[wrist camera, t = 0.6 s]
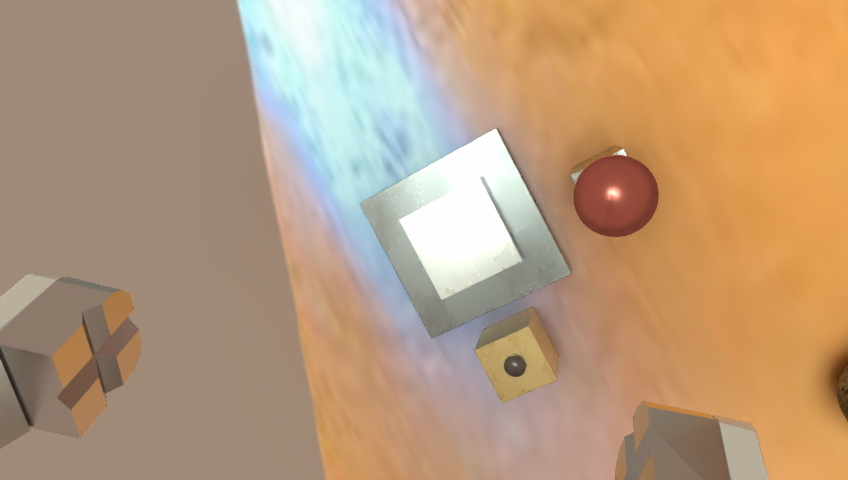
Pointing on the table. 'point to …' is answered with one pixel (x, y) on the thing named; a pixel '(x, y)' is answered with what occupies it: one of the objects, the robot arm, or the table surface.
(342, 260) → the table surface
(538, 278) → the press
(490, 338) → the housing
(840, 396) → the cup
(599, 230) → the plunger
